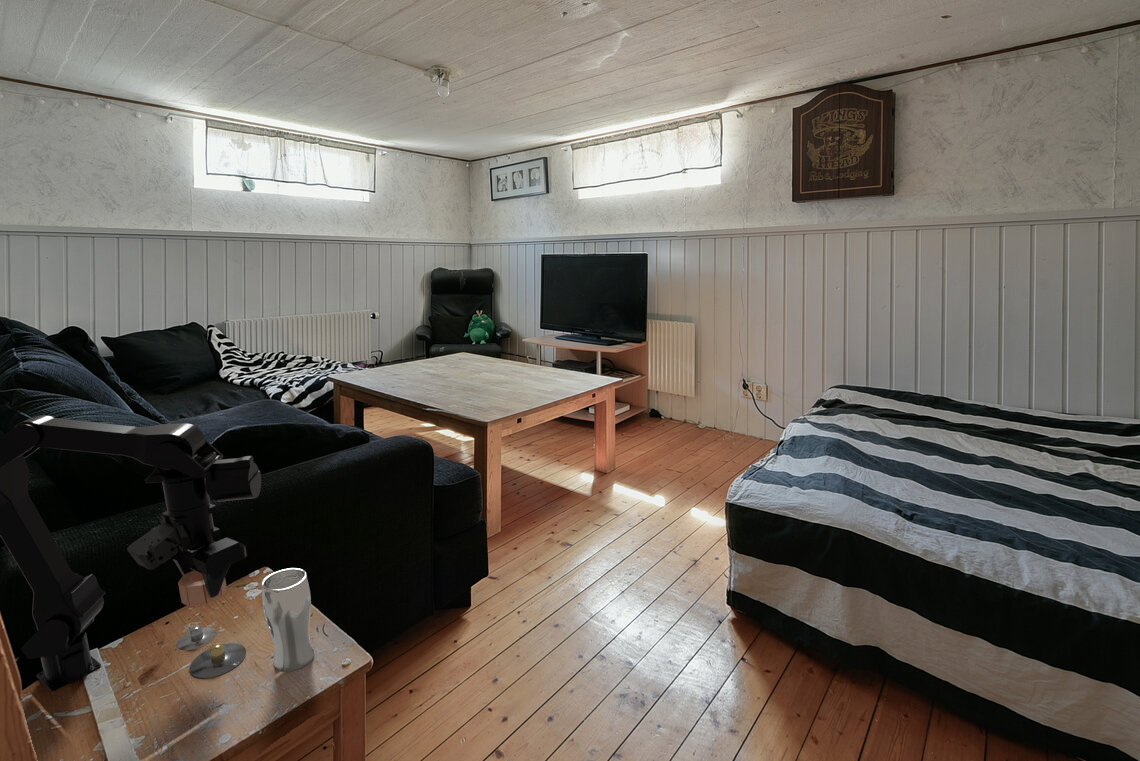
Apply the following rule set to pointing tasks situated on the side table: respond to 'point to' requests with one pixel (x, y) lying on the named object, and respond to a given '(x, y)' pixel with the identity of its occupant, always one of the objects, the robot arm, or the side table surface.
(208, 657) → the hub
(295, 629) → the beer glass
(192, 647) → the metal knobbed lid
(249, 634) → the side table surface
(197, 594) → the octagonal hollow tube
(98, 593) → the robot arm
